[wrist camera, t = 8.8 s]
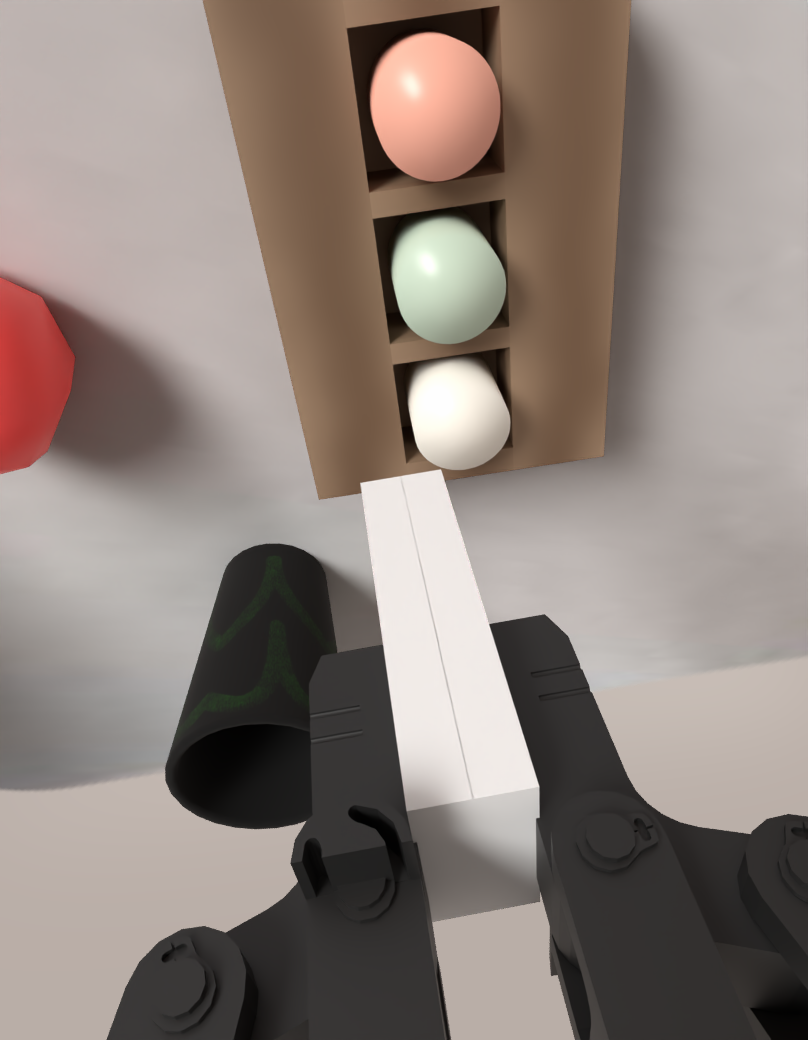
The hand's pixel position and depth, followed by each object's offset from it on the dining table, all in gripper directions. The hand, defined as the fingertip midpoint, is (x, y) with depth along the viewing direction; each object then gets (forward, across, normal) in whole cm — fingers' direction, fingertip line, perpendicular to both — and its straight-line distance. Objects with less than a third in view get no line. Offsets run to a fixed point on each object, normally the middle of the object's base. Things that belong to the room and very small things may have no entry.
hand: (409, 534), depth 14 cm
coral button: (+16, +3, +5) cm, 17 cm away
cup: (+19, -7, -17) cm, 27 cm away
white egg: (+16, +3, -5) cm, 17 cm away
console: (+19, +3, 0) cm, 19 cm away
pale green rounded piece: (+16, +3, 0) cm, 17 cm away
